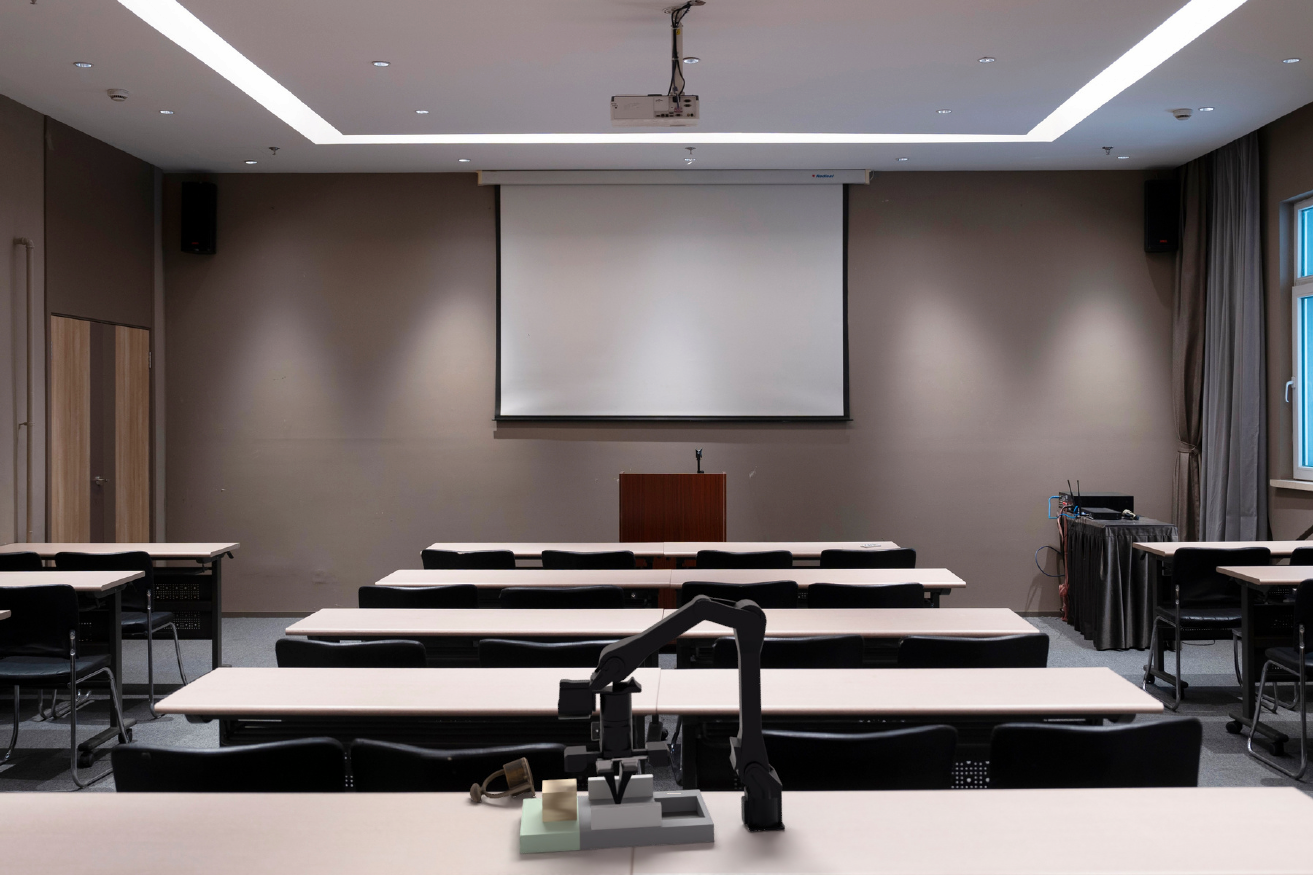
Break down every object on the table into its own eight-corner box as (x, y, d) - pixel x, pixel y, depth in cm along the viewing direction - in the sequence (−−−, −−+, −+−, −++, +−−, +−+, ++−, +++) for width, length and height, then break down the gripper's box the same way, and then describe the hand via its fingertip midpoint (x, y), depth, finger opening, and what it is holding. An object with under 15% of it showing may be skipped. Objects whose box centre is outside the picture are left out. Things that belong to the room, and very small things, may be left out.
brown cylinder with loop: (531, 779, 169) (543, 751, 179) (465, 772, 170) (481, 744, 180) (530, 813, 171) (542, 783, 180) (465, 805, 172) (480, 776, 181)
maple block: (576, 806, 161) (576, 778, 162) (577, 819, 156) (576, 791, 156) (542, 808, 161) (542, 780, 161) (542, 821, 155) (542, 792, 155)
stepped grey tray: (699, 805, 169) (699, 770, 169) (714, 841, 153) (713, 803, 153) (523, 815, 165) (523, 779, 165) (519, 853, 149) (519, 814, 150)
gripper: (662, 701, 169) (664, 784, 168) (563, 706, 167) (564, 790, 166) (669, 719, 158) (671, 808, 157) (563, 724, 156) (565, 814, 155)
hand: (617, 804), depth 159 cm, fingers closed
